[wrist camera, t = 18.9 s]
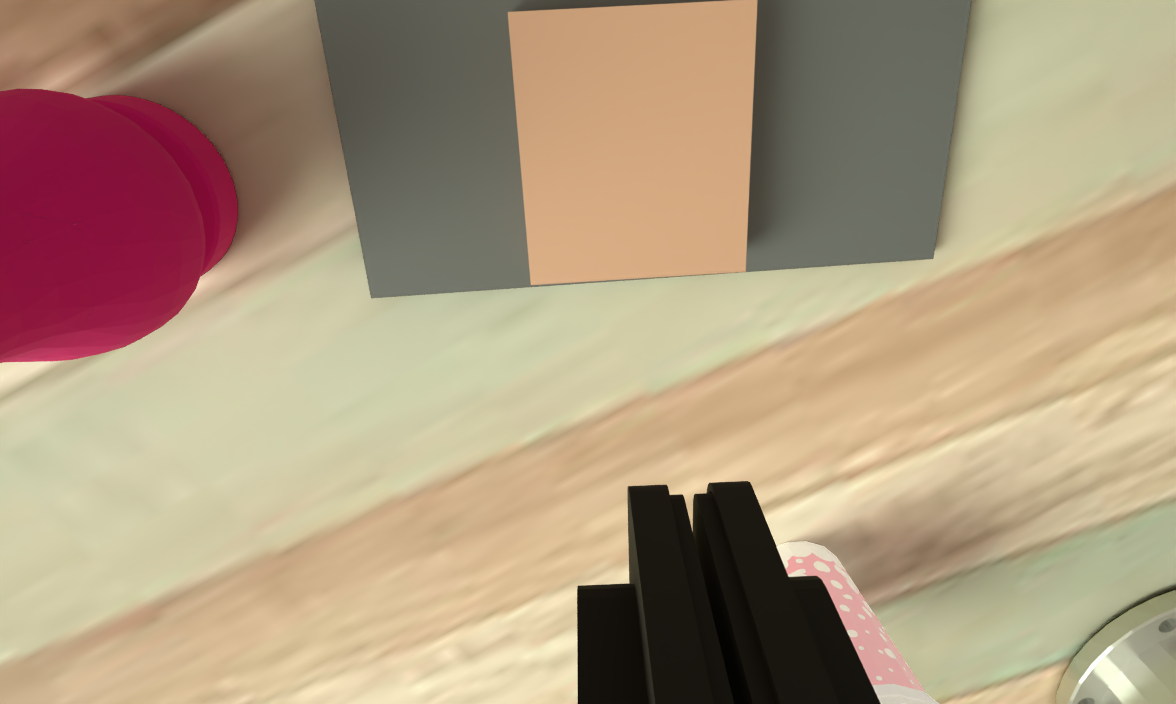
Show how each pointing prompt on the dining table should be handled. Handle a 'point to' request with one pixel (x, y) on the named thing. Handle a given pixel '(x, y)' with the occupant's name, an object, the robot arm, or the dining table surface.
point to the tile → (635, 138)
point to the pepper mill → (102, 221)
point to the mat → (778, 144)
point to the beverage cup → (857, 624)
